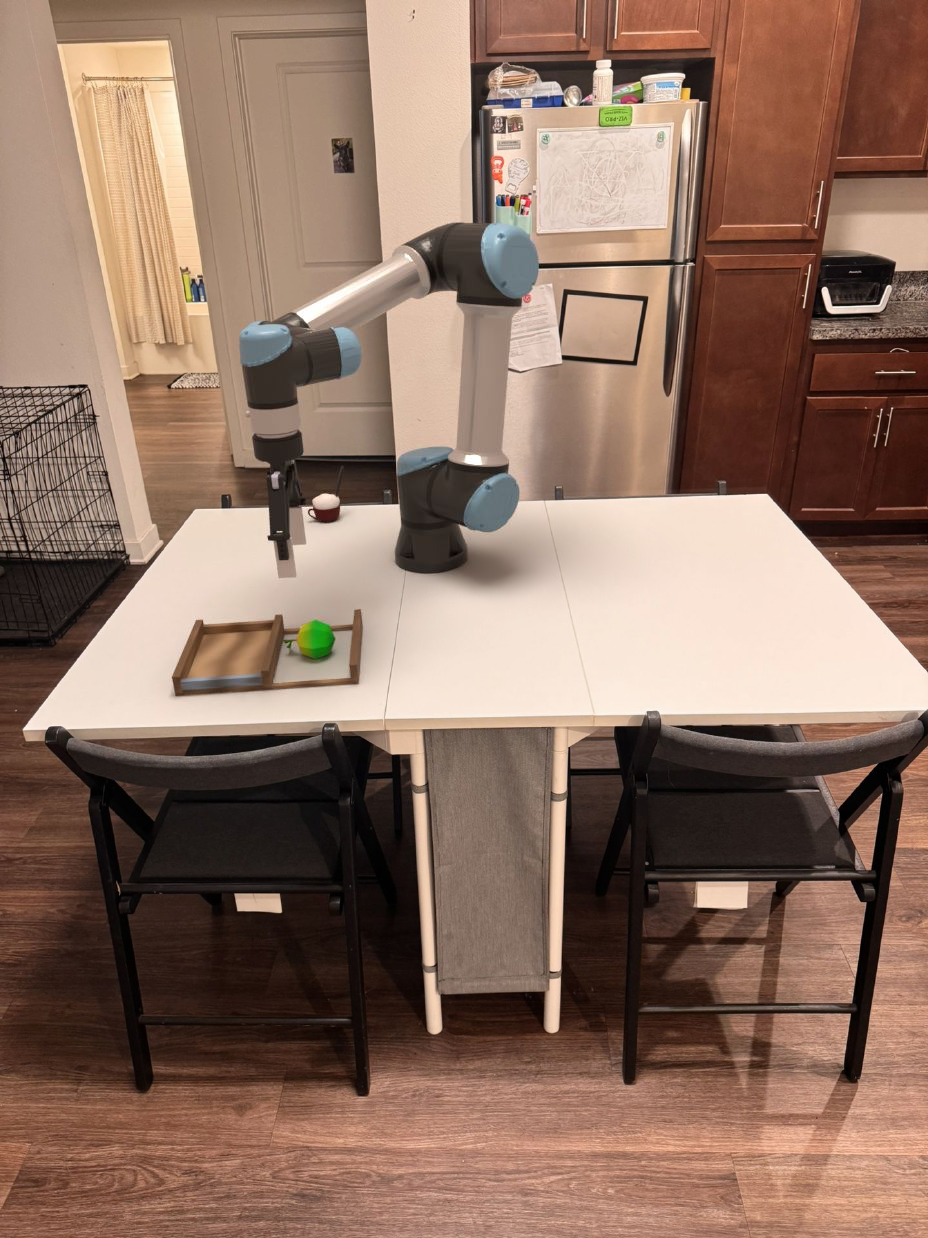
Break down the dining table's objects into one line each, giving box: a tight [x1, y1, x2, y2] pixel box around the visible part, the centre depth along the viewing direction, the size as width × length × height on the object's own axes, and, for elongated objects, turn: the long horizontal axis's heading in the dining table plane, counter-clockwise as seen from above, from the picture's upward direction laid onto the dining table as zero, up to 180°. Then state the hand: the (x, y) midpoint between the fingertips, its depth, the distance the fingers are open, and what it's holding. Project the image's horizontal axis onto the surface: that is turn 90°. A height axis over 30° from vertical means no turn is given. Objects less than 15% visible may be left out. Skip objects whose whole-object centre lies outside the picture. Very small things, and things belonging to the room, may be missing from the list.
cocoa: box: [307, 465, 345, 523], centre depth 214 cm, size 10×6×12 cm, turn 91°
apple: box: [282, 619, 336, 660], centre depth 157 cm, size 7×6×9 cm
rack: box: [171, 608, 364, 697], centre depth 157 cm, size 29×20×4 cm
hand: (293, 559), depth 151 cm, fingers open, 13 cm apart
